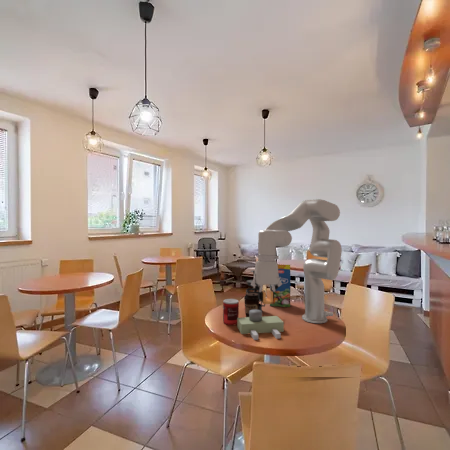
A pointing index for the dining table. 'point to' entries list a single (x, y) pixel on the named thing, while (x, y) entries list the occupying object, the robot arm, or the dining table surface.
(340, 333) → the dining table surface
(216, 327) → the dining table surface
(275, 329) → the green plate with pegs
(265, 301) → the chute
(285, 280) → the blue food package
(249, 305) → the coffee cup
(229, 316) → the canned food
